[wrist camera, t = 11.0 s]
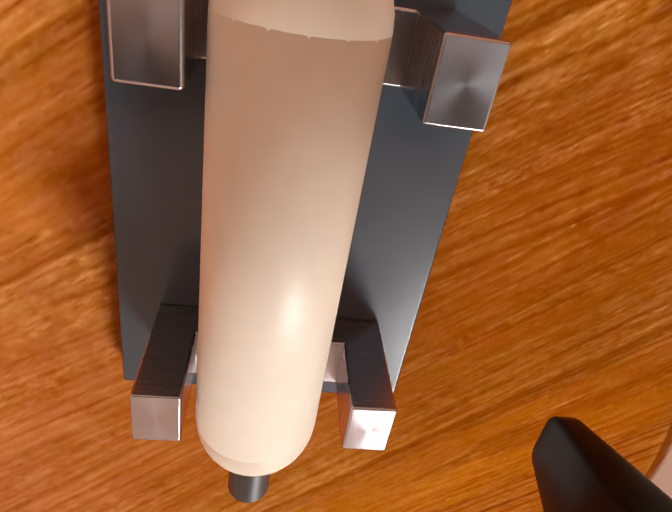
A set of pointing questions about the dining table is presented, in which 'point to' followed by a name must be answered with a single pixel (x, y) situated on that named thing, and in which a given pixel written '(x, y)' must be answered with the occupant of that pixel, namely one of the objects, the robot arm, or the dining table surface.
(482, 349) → the dining table surface
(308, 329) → the soldering pen
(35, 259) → the dining table surface
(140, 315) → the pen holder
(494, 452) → the dining table surface
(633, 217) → the dining table surface
